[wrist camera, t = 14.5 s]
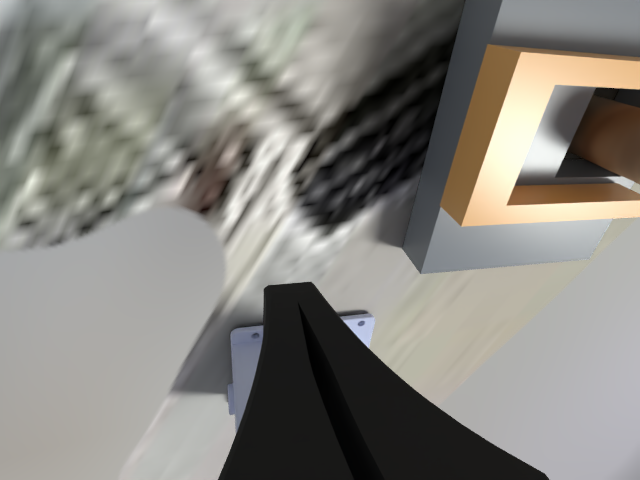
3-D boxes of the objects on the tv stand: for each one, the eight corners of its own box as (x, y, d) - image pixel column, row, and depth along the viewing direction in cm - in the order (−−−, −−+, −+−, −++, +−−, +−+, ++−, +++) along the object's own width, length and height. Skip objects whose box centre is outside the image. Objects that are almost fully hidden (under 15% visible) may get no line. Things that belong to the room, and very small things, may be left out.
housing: (402, 248, 23) (420, 273, 21) (488, -92, 15) (533, -103, 13) (560, 238, 26) (589, 259, 24) (709, -50, 18) (773, -54, 16)
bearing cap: (439, 205, 19) (461, 226, 17) (487, 44, 15) (521, 51, 13) (608, 199, 22) (640, 216, 20) (686, 61, 18) (734, 69, 16)
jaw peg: (574, 152, 23) (675, 198, 18) (538, 140, 21) (636, 185, 17) (608, 101, 21) (727, 136, 16) (571, 86, 20) (688, 117, 15)
